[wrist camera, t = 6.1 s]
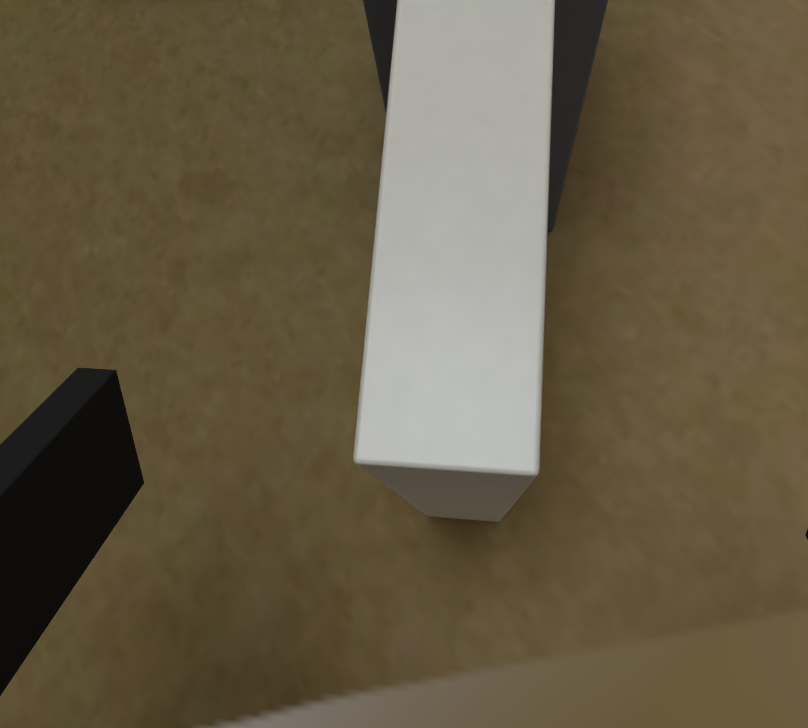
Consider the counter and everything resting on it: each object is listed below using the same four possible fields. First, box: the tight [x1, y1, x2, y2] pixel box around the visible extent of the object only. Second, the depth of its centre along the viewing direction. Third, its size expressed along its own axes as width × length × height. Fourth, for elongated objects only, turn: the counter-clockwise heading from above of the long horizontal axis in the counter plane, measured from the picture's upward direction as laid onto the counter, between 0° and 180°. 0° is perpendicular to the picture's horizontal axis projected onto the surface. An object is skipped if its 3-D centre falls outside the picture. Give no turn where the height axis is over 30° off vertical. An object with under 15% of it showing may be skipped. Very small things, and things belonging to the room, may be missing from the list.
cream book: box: [353, 0, 555, 522], centre depth 18 cm, size 2×9×15 cm, turn 175°
